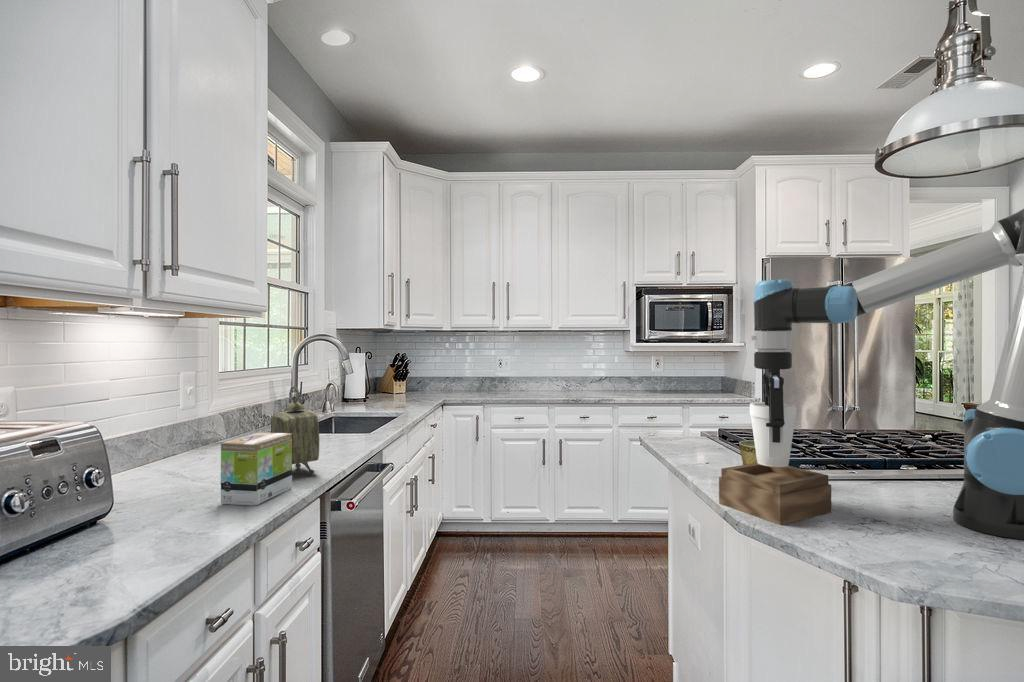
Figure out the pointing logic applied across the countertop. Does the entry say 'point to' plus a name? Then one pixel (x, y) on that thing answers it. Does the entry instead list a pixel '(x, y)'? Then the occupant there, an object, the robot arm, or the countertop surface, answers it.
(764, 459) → the foam cup
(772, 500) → the wooden box
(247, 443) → the tea box
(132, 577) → the countertop surface
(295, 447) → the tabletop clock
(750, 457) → the ceramic cup
